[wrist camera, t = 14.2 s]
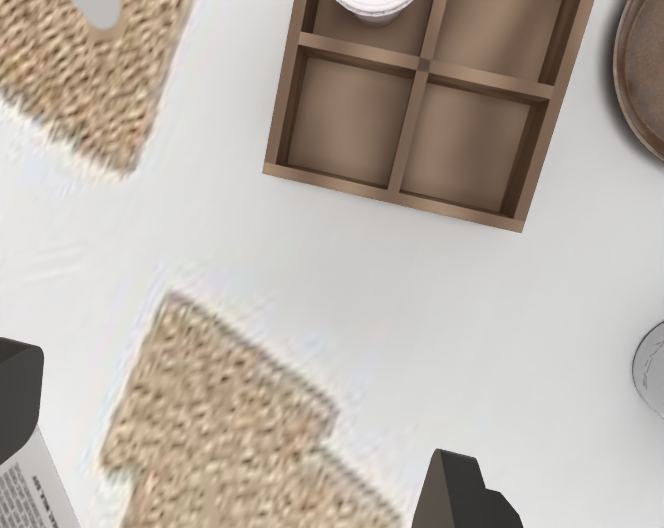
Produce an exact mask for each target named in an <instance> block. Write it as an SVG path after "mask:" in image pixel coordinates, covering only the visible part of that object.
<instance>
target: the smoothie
mask: <svg viewBox="0 0 664 528" xmlns="http://www.w3.org/2000/svg"><path fill="white" fill-rule="evenodd" d="M336 1H337V2H339V3H340V4H341V5H343V6H344V7H345V8H346V9H348V10H350V11H352V12H353V13H354V14H355V16H356V17H357V18H358V19H359V20H360V21H361V22H362V23H363V24H364V25H366V26H368V27H372V28H382V27H385V26H388V25H389V24H391V23H392V22H394V21H395V20H396V18H397V17H398V16H399V14H400V13H401V11H402V10H403V8H405V7H406V6H407V5H408V4H410V3H411V2H412V1H413V0H336Z"/></svg>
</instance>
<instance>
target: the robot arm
mask: <svg viewBox="0 0 664 528" xmlns="http://www.w3.org/2000/svg"><path fill="white" fill-rule="evenodd" d="M43 365H44V354H43V351H42V349H41V348H40V347H38V346H35V345H31V344H27V343H23V342H19V341H15V340H11V339H8V338H3V337H0V465H2V464H3V463H4V462H5V461H6V460H8V459H9V458H10V457H11V456H13V455H14V454H15V453H16V452H18V451H19V450H20V449H21V448H22V447H23V446H24V445H25V444H26V443H27V441H28V440H29V439H30V437H31V436H32V434H33V432H34V430H35V427H36V425H37V422H38V417H39V409H40V398H41V387H42V376H43ZM633 377H634V381H635V386H636V388H637V390H638V392H639V394H640V396H641V397H642V398H643V399H644V400H645V402H646V403H647V404H648V405H649V406H650V407H651V408H652V409H653V410H654V411H656V412H657V413H658V414H659V415H660V416H661V417H662V418H663V419H664V323H662V324H660V325H659V326H657V327H656V328H655V329H654V330H653V331H651V332H650V333H649V334H648V336H647V337H646V338H645V339H644V340H643V342H642V343H641V345H640V347H639V349H638V351H637V353H636V356H635V360H634V364H633ZM412 528H523V525H522V522H521V520H520V517H519V514H518V513H517V512H516V511H515V510H514V508H513V507H512V506H511V505H510V504H509V502H508V501H507V500H506V499H505V497H504V496H503V495H502V494H501V493H500V492H497V491H493V490H489V489H486V488H485V484H484V481H483V478H482V475H481V471H480V468H479V465H478V462H477V460H476V458H474V457H470V456H466V455H462V454H458V453H454V452H450V451H446V450H442V449H436V450H435V451H434V453H433V455H432V458H431V461H430V464H429V468H428V471H427V474H426V478H425V481H424V484H423V488H422V491H421V494H420V498H419V501H418V504H417V508H416V511H415V514H414V518H413V523H412Z"/></svg>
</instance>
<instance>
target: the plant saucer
mask: <svg viewBox="0 0 664 528" xmlns="http://www.w3.org/2000/svg"><path fill="white" fill-rule="evenodd" d="M613 76H614V84H615V90H616V94H617V97H618V101H619V104H620V107H621V110H622V112H623V114H624V117H625V119H626V121H627V122H628V124H629V126H630V128H631V129H632V131H633V132H634V134H635V135H636V137H637V138H638V139H639V140H640V141H641V143H642V144H643V145H644V146H645V147H646V148H647V149H648V150H649V151H650V152H652V153H653V154H654V155H655V156H656V157H658V158H659V159H661V160H662V161H664V0H628V1H627V3H626V5H625V8H624V10H623V13H622V16H621V18H620V22H619V25H618V29H617V34H616V38H615V45H614V54H613Z"/></svg>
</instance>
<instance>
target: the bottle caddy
mask: <svg viewBox="0 0 664 528" xmlns="http://www.w3.org/2000/svg"><path fill="white" fill-rule="evenodd" d="M593 3H594V0H413V1H412V2H411V3H410V4H408V5H407V6H406V7H405V8H403V10H402V11H401V13H400V14H399V16H398V17H397V18H396V20H395V21H394V22H392V23H391V24H389V25H388V26H385V27H382V28H372V27H368V26H366V25H364V24H363V23H362V22H361V21H360V20H359V19H358V18H357V17H356V16H355V14H354V13H353V12H352V11H350V10H348V9H346V8H345V7H344V6H343V5H341V4H340V3H339V2H337V1H336V0H294V4H293V9H292V15H291V20H290V25H289V31H288V36H287V42H286V47H285V52H284V58H283V63H282V69H281V74H280V80H279V85H278V90H277V96H276V101H275V107H274V112H273V117H272V123H271V128H270V134H269V139H268V145H267V150H266V155H265V161H264V166H263V172H262V173H263V174H267V175H272V176H276V177H280V178H285V179H289V180H293V181H298V182H302V183H306V184H311V185H315V186H319V187H324V188H328V189H332V190H337V191H341V192H345V193H350V194H354V195H358V196H363V197H367V198H371V199H376V200H380V201H384V202H389V203H393V204H397V205H402V206H406V207H410V208H415V209H419V210H423V211H428V212H432V213H436V214H441V215H445V216H449V217H454V218H458V219H462V220H467V221H471V222H475V223H480V224H484V225H488V226H493V227H497V228H501V229H506V230H510V231H514V232H519V233H522V230H523V227H524V224H525V220H526V217H527V214H528V211H529V208H530V204H531V201H532V198H533V195H534V192H535V188H536V185H537V182H538V179H539V176H540V172H541V169H542V166H543V163H544V160H545V156H546V153H547V150H548V147H549V144H550V140H551V137H552V134H553V131H554V128H555V124H556V121H557V118H558V115H559V112H560V108H561V105H562V102H563V99H564V96H565V92H566V89H567V86H568V83H569V80H570V76H571V73H572V70H573V67H574V64H575V60H576V57H577V54H578V51H579V48H580V44H581V41H582V38H583V35H584V32H585V28H586V25H587V22H588V19H589V16H590V12H591V9H592V6H593Z"/></svg>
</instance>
